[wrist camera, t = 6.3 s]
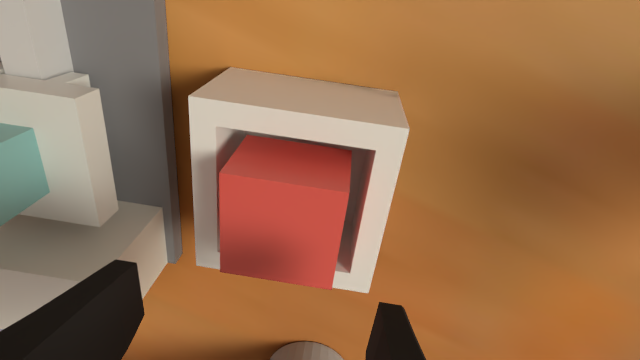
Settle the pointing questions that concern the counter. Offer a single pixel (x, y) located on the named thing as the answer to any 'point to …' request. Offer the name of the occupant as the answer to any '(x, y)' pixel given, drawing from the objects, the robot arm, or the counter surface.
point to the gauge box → (304, 127)
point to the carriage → (54, 150)
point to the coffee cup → (305, 352)
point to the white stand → (122, 135)
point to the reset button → (283, 210)
